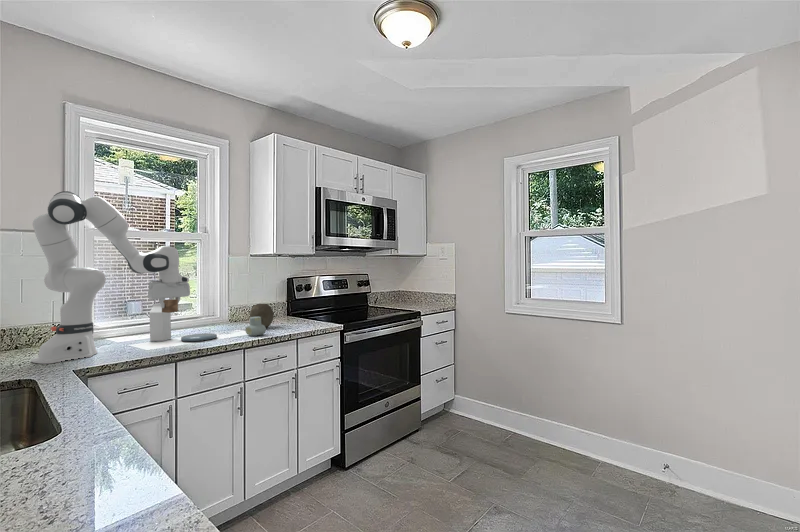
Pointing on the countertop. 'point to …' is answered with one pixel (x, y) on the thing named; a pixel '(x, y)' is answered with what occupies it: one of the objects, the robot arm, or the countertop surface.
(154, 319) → the milk carton
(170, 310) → the block
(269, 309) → the dark rounded stone
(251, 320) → the air freshener
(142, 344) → the countertop surface
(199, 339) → the dish
